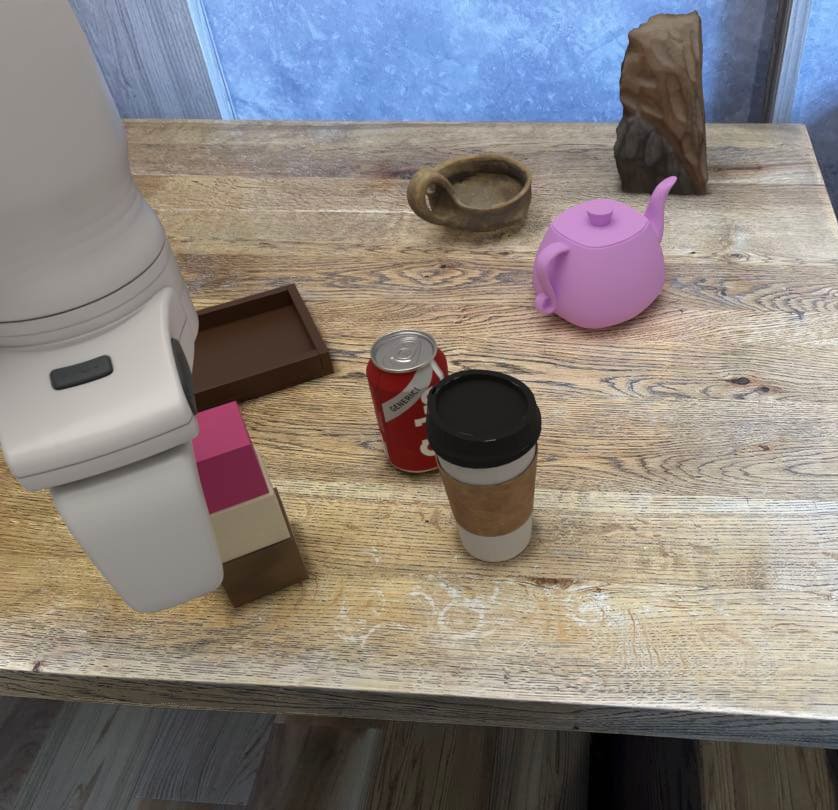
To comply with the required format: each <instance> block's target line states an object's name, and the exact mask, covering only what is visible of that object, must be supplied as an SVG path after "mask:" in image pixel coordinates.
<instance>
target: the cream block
mask: <svg viewBox="0 0 838 810" xmlns="http://www.w3.org/2000/svg"><path fill="white" fill-rule="evenodd" d="M254 449H255V451H256V454H257V457H258V460H259V463H260V466H261V469H262V472H263V475H264V478H265V481H266V483H267V486H268V489H269V493H267V494H264V495H262V496H259V497H256V498H253V499H251V500H248V501H245V502H242V503H239V504H237V505H234V506H231V507H228V508H226V509H223V510H220V511H217V512H215V513H212V514H209V515H210V519H211V522H212V526H213V530H214V533H215V537H216V540H217V544H218V548H219V552H220V556H221V560H222V563H225V562H227V561H230V560H232V559H235V558H238V557H240V556H243V555H246V554H248V553H251V552H253V551H256V550H259V549H261V548H264V547H267V546H269V545H272V544H274V543H277V542H280V541H282V540H285V539H288V538H290V534H289V531H288V528H287V526H286V523H285V520H284V517H283V514H282V511H281V508H280V506H279V503H278V500H277V497H276V494H275V491H274V489H273V488H274V486H273V484H272V482H271V478H270V476H269V473H268V470H267V468H266V465H265V463H264V460H263V457H262V455H261V452H260V449H259V447H258V446H254Z"/></svg>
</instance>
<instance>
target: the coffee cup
mask: <svg viewBox="0 0 838 810" xmlns="http://www.w3.org/2000/svg"><path fill="white" fill-rule="evenodd" d="M537 403H538V402H537V400H536V396H535V394H534V393H533V391H532V390H531V388H530V387H529V386H528V385H527V384H526V383H525V382H523V381H522V380H521V379H519V378H516V377H515V376H513V375H510V374H508V373H504V372H500V371H497V370H491V369H483V368H481V369H480V368H477V369H476V368H473V369H463V370H458V371H456V372H452V373H449V376H447V377H445V378H443V379H442V380H441V381H439V382H438V383H437V384H436V385H434V386H433V387H432V388H431V389H430V391H429V394H428V399H427V416H426V423H425V427H426V433H427V440H428V442H429V445H430V447H431V448H432V449H433V451H434V452H435V457H436V462H437V465H438V468H437V469H438V471H439V475H440V477H441V480H442V484H443V487H444V491H445V493H446V497H447V500H448V503H449V506H450V509H451V512H452V516H453V518H454V520H455V525H456V528H457V532H458V535H459V536H458V537H459V538H460V539H459V540H460V542H461V544H462V547H463V549H464V550H465V551H466V552H467V553H468V554H469V555H470V556H472V557H473V558H474V559H475V558H476V559H477V560H480V561H483V562H487V563H501V562H505V561H508V560H511V559H514V558H515V557H517V556H518V555H519V554H521V553H523V552H524V550H525V549H526V548H527V546H528V545H529V543H530V541H531V537H532V533H533V532H532V531H533V528H532V527H533V510H534V504H535V491H536V481H537V480H536V479H537V467H538V455H539V454H538V453H539V443H538V441H539V439H540V436H541V433H542V428H543V426H542V425H543V424H542V412H541V410H540V407H539V405H538V404H537Z"/></svg>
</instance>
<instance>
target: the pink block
mask: <svg viewBox="0 0 838 810" xmlns="http://www.w3.org/2000/svg"><path fill="white" fill-rule="evenodd" d="M238 404H239V403H238ZM238 404H237V402H236V401H234V402H230V403H227V404H224V405H221V406H218V407H215V408H212V409H209V410H206V411H202V412H199V413H197V414H196V417H197V421H198V425H199V434H198V436H197V437H196V438H194V439H192V444H193V450H194V455H195V460H196V465H197V469H198V474H199V478H200V482H201V486H202V490H203V493H204V497H205V500H206V504H207V508H208V511H209V514H212V513H215V512H217V511H220V510H223V509H226V508H228V507H231V506H234V505H237V504H239V503H242V502H245V501H248V500H251V499H253V498H256V497H259V496H262V495H264V494H267V493H269V489H268V486H267V483H266V481H265V478H264V475H263V472H262V469H261V466H260V463H259V460H258V457H257V454H256V451H255V449H254V447H255V446H254V443H253V441H252V438H251V436H250V434H249V431H248V427H247V425H246V422H245V420H244V418H243V415H242V413H241V410H240V407H239V405H238Z"/></svg>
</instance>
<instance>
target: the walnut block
mask: <svg viewBox="0 0 838 810" xmlns="http://www.w3.org/2000/svg"><path fill="white" fill-rule="evenodd" d="M273 489H274V491H275V494H276V497H277V500H278V503H279V506H280V508H281V511H282V514H283V517H284V520H285V523H286V526H287V528H288V531H289V534H290V538H288V539H285V540H282V541H280V542H277V543H274V544H272V545H269V546H267V547H264V548H261V549H259V550H256V551H253V552H251V553H248V554H246V555H243V556H240V557H238V558H235V559H232V560H230V561H227V562H225V563H222V565H223V571H224V576H223V581H222V582H221V584H220V585H221V586H222V588H223V590H224V592H225V594H226V596H227V597H228V600H229V601H230V603H231V606H232V609H233V608H234V609H235V608H238V607H241V606H242V605H246V604H247V603H250V602H252V601H255V600H258V599H260V598H262V597H266V596H268V595H270V594H272V593H275V592H278V591H280V590H284V589H285V588H287V587H290V586H293V585H295V584H297V583H300V582H303V581H305V580H308V579H310V575H309V572H308V569H307V566H306V564H305V560H304V558H303V555H302V552H301V550H300V547H299V543H298V541H297V539H296V535H295V532H294V530H293V527H292V525H291V522H290V519H289V516H288V514H287V511H286V509H285V506H284V503H283V501H282V498H281V496H280V492H279V490H278V487H277V486H274V487H273Z"/></svg>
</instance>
